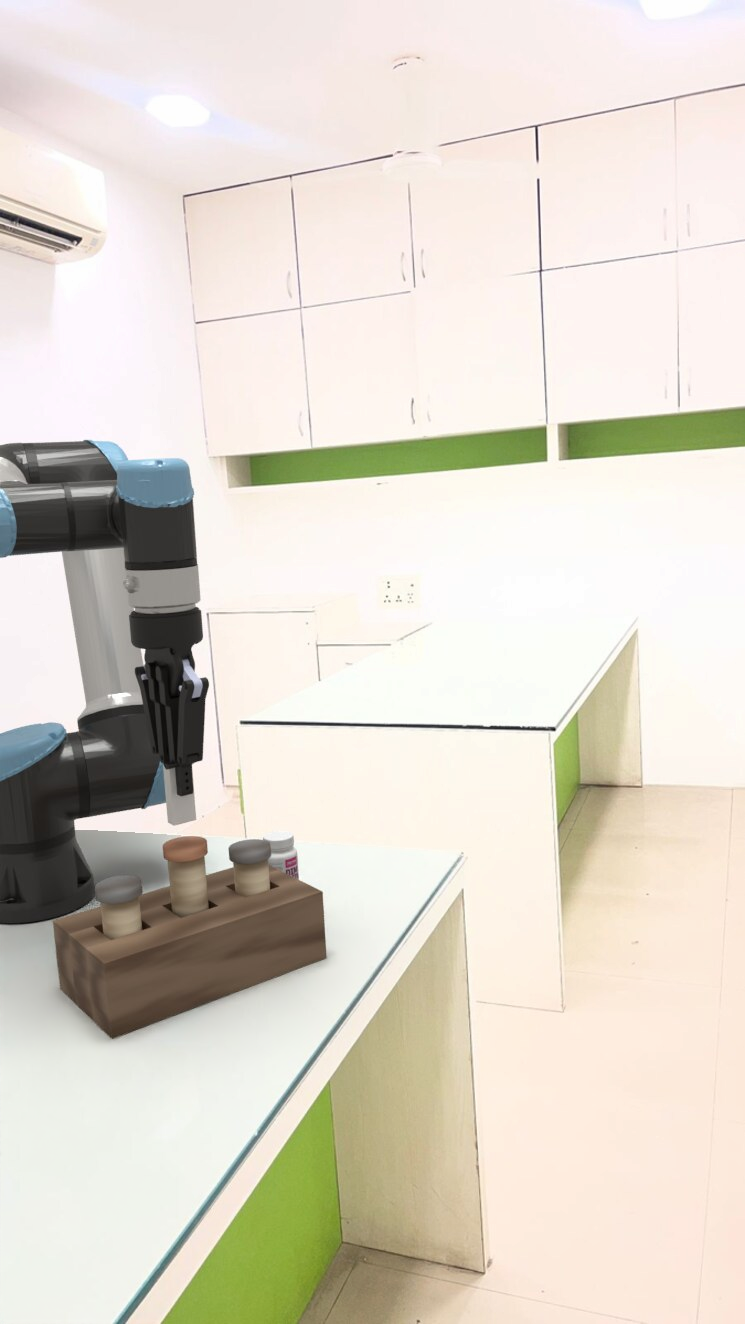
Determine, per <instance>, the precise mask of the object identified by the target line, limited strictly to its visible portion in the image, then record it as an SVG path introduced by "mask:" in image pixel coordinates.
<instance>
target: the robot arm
mask: <svg viewBox="0 0 745 1324" xmlns="http://www.w3.org/2000/svg"><path fill="white" fill-rule="evenodd" d="M190 469H191V468H190V466H189V464H188V462H187V461H186V460H184V459H183V458H175V457H174V458H172V457H171V458H170V457H169V458H146V459H129V458H128V457H127V454H126V453H125V451H124V450H123V449H122V447H121V446H119V444H117V443H115V442H113V441H109V440H103V441H102V440H93V439H84V440H82V441H80V440H79V441H76V440H74V441H55V442H54V441H51V442H49V441H47V442H9V443H5V444H0V559H3V558H7V557H11V556H23V555H35V554H48V553H50V554H51V553H60V552H61V555H62V561H63V562H62V563H63V569H64V574H65V575H64V576H65V580H66V587H67V592H68V593H67V594H68V600H69V604H70V605H69V606H70V611H71V617H72V624H73V631H74V637H75V643H76V648H77V656H78V662H79V667H80V668H79V669H80V673H81V679H82V685H83V691H84V692H83V693H84V699H85V708H84V709H83V710H82V712H81V714H79V716H78V717H77V718H76V719H77V727H78V728H77V729H78V731H73V732H67V729H66V728H65V727H64V725H63V724H61V723H59V722H46V723H34V724H29V725H24V726H19V727H17V728H12V729H9V730H6V731H4V732H1V733H0V923H2V924H21V923H22V924H24V923H31V922H32V923H33V922H38V921H45V920H49V919H53V918H56V917H59V916H63V915H66V914H69V913H70V912H73V911H76V910H77V909H80V908H81V907H83V906H84V905H86V904H87V903H89V902H90V901H91V900H92V899H93V897H95V895H96V894H95V879H94V875H93V873H92V870H91V867H90V866H89V864H88V862H87V859H86V857H85V855H84V853H83V851H82V848H81V847H80V844H79V842H78V840H77V836H76V827H75V826H76V825H75V820H78V819H84V818H92V817H97V816H103V815H107V814H108V815H109V814H114V813H118V812H119V813H120V812H125V811H131V810H137V809H141V810H146V809H147V808H148V807H152V806H157V805H162V804H165V805H166V817H167V818H166V819H167V823H168V824H170V825H172V826H178V825H182V824H185V823H186V824H187V823H190V822H195V821H197V809H196V800H195V799H196V798H195V786H194V773H193V764H195V763H198V762H201V761H203V759H204V739H205V738H204V737H205V719H206V716H205V715H206V714H205V713H206V700H207V699H206V698H207V695H208V691H209V687H210V682H209V679H208V678H207V677H205V676H204V677H200V678H199V676H198V675H197V672H196V671H195V670H196V661H195V658H194V656H193V655H194V654H193V651H192V648H193V647H194V645H197V644H199V643H201V642H202V640H203V638H204V633H203V632H204V631H203V619H202V618H203V616H202V610H201V609H200V608H199V607H198V606H196V604H199V603H200V601H201V588H200V573H199V564H198V555H197V542H196V541H197V539H196V538H197V537H196V523H195V513H194V512H195V509H194V496H195V491H194V487H193V485H192V477H191V470H190ZM142 650H144V655H143V653H142ZM143 656H144V658H143ZM143 659H144V660H143Z"/></svg>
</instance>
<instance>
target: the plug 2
mask: <svg viewBox="0 0 745 1324" xmlns="http://www.w3.org/2000/svg"><path fill="white" fill-rule="evenodd" d="M270 857H271V844H270V843H269V842H268V841H265V840H263V839H259V838H258V839H255V838H254V839H244V840H239V841H236V842H234V843H231V844H230V845H229V846H228V859H229V861H230V862H232V866H233V868H234V881H235V892H236V893H238V894H240V895H242V896H244V897H248V896H252V895H255V894H258V893H261V892H264V891H267V890H270V879H269V865H268V859H269V858H270Z"/></svg>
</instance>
